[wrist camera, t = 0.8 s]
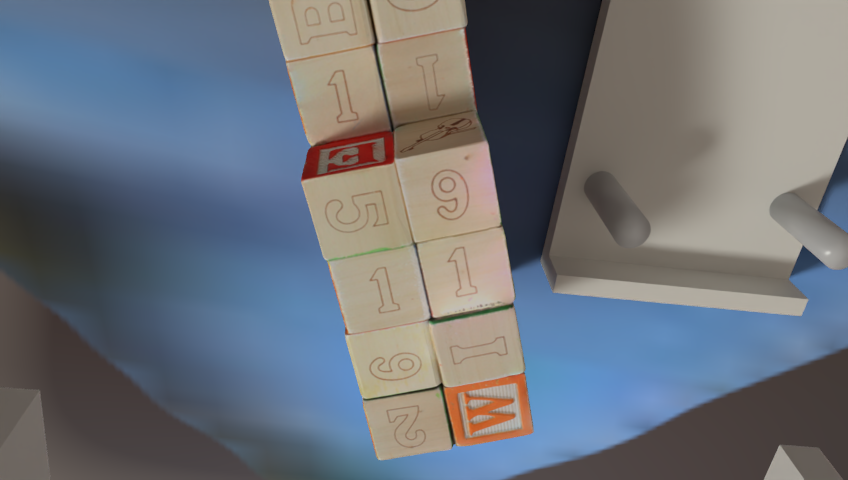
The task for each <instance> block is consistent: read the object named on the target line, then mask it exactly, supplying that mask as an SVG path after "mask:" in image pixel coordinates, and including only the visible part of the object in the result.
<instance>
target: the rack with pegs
mask: <svg viewBox="0 0 848 480" xmlns="http://www.w3.org/2000/svg"><path fill="white" fill-rule="evenodd" d="M847 137H848V0H602V3H601V7H600V11H599V16H598V20H597V24H596V28H595V33H594V37H593V41H592V45H591V49H590V54H589V58H588V62H587V66H586V71H585V75H584V79H583V83H582V87H581V92H580V96H579V100H578V104H577V109H576V113H575V117H574V121H573V125H572V130H571V134H570V138H569V142H568V147H567V151H566V155H565V159H564V164H563V168H562V172H561V176H560V180H559V185H558V189H557V193H556V197H555V202H554V206H553V210H552V214H551V218H550V223H549V227H548V231H547V235H546V240H545V244H544V248H543V252H542V256H541V261H540V262H541V264H542V267H543V269H544V272H545V274H546V277H547V279H548V282H549V284H550V286H551V289H552V291H553V293H563V294H573V295H584V296H594V297H605V298H616V299H626V300H637V301H647V302H658V303H668V304H679V305H689V306H700V307H710V308H721V309H731V310H742V311H752V312H763V313H773V314H784V315H794V316H801V315H802V313H803V311H804V309H805V306H806V304H807V302H808V298H807V297H806V296H805V295H804V294H803V293H802V292H801V291H800V290H799V289H797V288H796V287H795V286H794V285H793V284H792V283H791V282H790V281H789V277H790V275H791V272H792V270H793V267H794V265H795V263H796V260H797V258H798V255H799V253H800V251H801V248H802V246H805V247H806V248H807V249H808V250H809V251H810V252H811V253H813V254H814V255H815V256H816V257H817V258H818V259H819V260H821V261H822V262H823V263H824V264H825V265H826V266H827V267H829V268H831V269H834V270H840V269H844V268H847V267H848V233H846V232H845V231H844V230H842V229H841V228H840V227H838V226H837V225H836V224H835V223H833V222H832V221H831V220H829V219H828V218H827V217H825V216H824V215H823V214H821V213H820V212H819V211H818V207H819V205H820V202H821V200H822V198H823V195H824V193H825V190H826V188H827V185H828V183H829V181H830V178H831V176H832V173H833V171H834V169H835V166H836V164H837V161H838V159H839V157H840V154H841V152H842V149H843V147H844V144H845V142H846V140H847Z"/></svg>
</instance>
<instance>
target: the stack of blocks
mask: <svg viewBox="0 0 848 480" xmlns="http://www.w3.org/2000/svg"><path fill="white" fill-rule="evenodd" d="M269 3H270V7H271V11H272V14H273V18H274V21H275V25H276V29H277V32H278V36H279V39H280V43H281V47H282V50H283V54H284V57H285V59H286V64H287V70H288V75H289V78H290V81H291V86H292V89H293V93H294V96H295V100H296V103H297V106H298V109H299V113H300V116H301V120H302V123H303V127H304V130H305V134H306V136H307V139H308V142H309V143H310V145H311V148H310V149H309V150H308V153H307V158H306V162H305V165H304V169H303V174H302V178H301V182H302V186H303V189H304V193H305V196H306V199H307V202H308V206H309V209H310V213H311V216H312V220H313V223H314V226H315V230H316V233H317V237H318V240H319V243H320V247H321V250H322V254H323V257H324V259H325V260H326V261H327V262H328V265H329V269H330V273H331V277H332V281H333V285H334V288H335V292H336V295H337V298H338V302H339V305H340V309H341V313H342V316H343V320H344V323H345V326H346V327H345V338H346V342H347V346H348V349H349V353H350V356H351V360H352V363H353V367H354V370H355V374H356V378H357V381H358V385H359V389H360V393H361V395H362V397H363V408H364V411H365V415H366V419H367V422H368V426H369V430H370V434H371V438H372V442H373V445H374V449H375V453H376V456H377V458H378V460H387V459H392V458H398V457H404V456H410V455H416V454H422V453H428V452H436V451H443V450H449V449H452V447H453V445H454V444H456V446H470V445H475V444H480V443H486V442H492V441H497V440H503V439H508V438H513V437H518V436H524V435H528V434H531V433H533V432H534V430H533V422H532V416H531V410H530V404H529V397H528V390H527V383H526V377H525V373H524V371H525V363H524V357H523V351H522V346H521V340H520V334H519V329H518V323H517V318H516V312H515V308H514V304H513V301H514V300H515V297H516V295H515V290H514V283H513V278H512V273H511V266H510V260H509V254H508V249H507V243H506V237H505V233H504V229H503V226H502V222H501V213H500V207H499V201H498V195H497V190H496V184H495V178H494V172H493V166H492V160H491V155H490V148H489V143H488V140H487V138H486V135H485V132H484V129H483V127H482V124H481V121H480V118H479V116H478V113H477V104H476V97H475V90H474V83H473V77H472V70H471V63H470V56H469V49H468V42H467V36H466V26H467V23H468V20H467V13H466V6H465V0H269Z"/></svg>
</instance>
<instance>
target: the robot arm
mask: <svg viewBox="0 0 848 480" xmlns="http://www.w3.org/2000/svg"><path fill="white" fill-rule="evenodd" d="M0 480H51V479H50V471H49V463H48V455H47V446H46V438H45V430H44V421H43V413H42V405H41V396H40V390H31V389H19V388H5V387H0ZM764 480H843V479H842V478H841V477H840V475H839V474H838V473H837V472H836V470H835V469H834V467H833V466H832V465H831V464H830V462H829V461H828V460H827V458H826V457H825V456H824V454H823V453H822V452H821V450H820V449H819V448H817V447H803V446H790V445H780V446H779V448H778V450H777V452H776V454H775V456H774V459H773V461H772V463H771V465H770V468H769V470H768V472H767V474H766V476H765V478H764Z"/></svg>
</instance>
